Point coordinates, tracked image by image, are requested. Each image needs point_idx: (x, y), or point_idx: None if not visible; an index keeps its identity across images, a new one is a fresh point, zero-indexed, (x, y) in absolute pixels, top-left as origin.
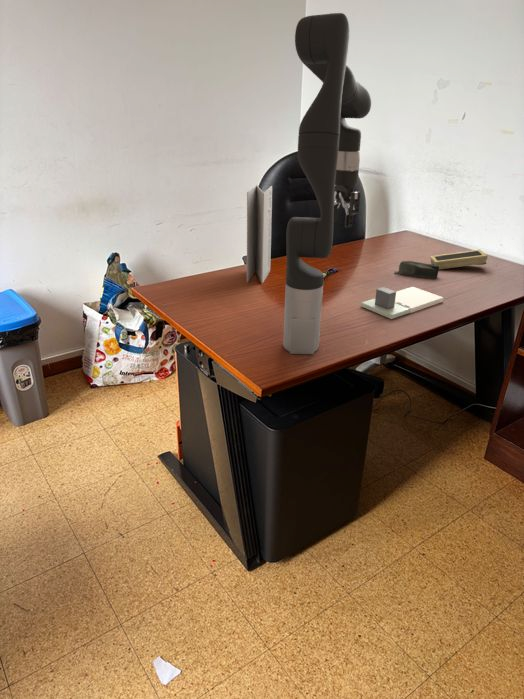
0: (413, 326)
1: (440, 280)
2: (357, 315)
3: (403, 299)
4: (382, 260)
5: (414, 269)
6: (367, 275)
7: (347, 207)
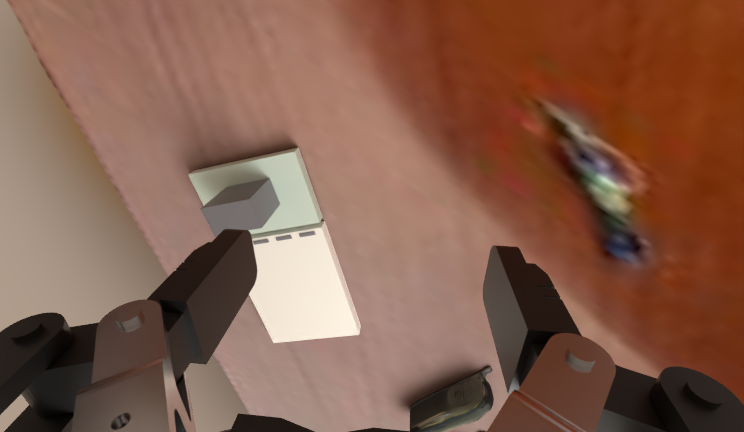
0: (150, 193)
1: (395, 406)
2: (241, 98)
3: (284, 265)
4: None
5: (448, 400)
6: None
7: (92, 381)
